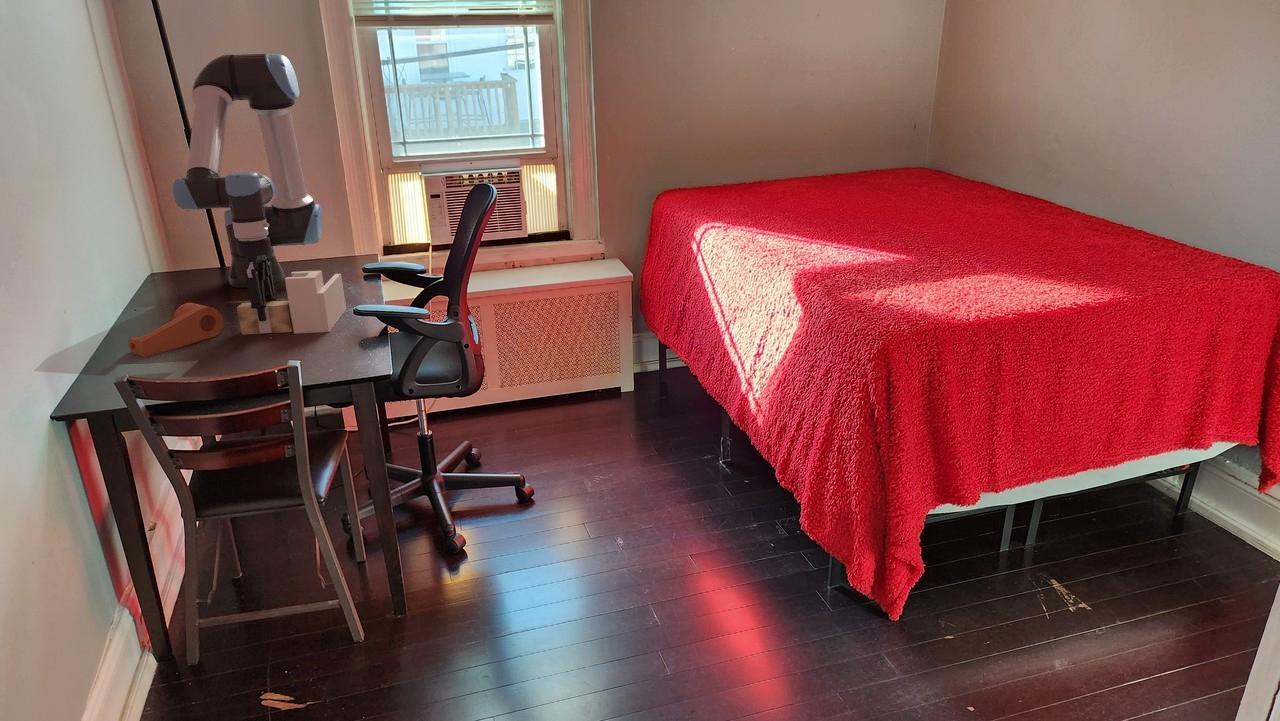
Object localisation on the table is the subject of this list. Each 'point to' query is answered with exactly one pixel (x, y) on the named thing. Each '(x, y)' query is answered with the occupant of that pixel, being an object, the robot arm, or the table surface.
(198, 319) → the crank
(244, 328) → the tan wooden block
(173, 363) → the table surface
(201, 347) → the table surface
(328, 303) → the white notched block
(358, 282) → the table surface
